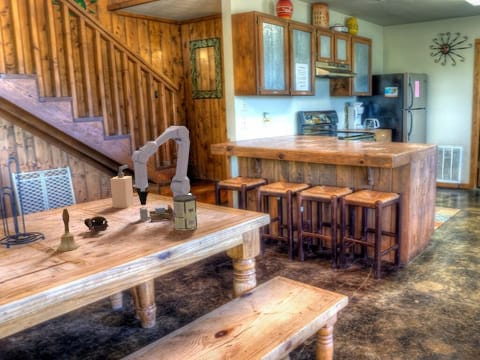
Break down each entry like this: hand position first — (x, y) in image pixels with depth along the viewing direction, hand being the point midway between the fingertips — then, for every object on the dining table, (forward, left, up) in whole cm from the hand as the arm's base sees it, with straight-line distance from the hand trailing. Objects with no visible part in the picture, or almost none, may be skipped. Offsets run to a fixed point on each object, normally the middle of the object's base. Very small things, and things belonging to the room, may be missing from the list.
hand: (142, 203), depth 214 cm
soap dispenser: (+8, -37, -8) cm, 39 cm away
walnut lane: (-8, 0, -8) cm, 12 cm away
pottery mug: (+22, +14, -8) cm, 27 cm away
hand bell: (+32, +33, -8) cm, 47 cm away
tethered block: (-4, 0, -8) cm, 9 cm away
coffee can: (-17, +22, -8) cm, 29 cm away
